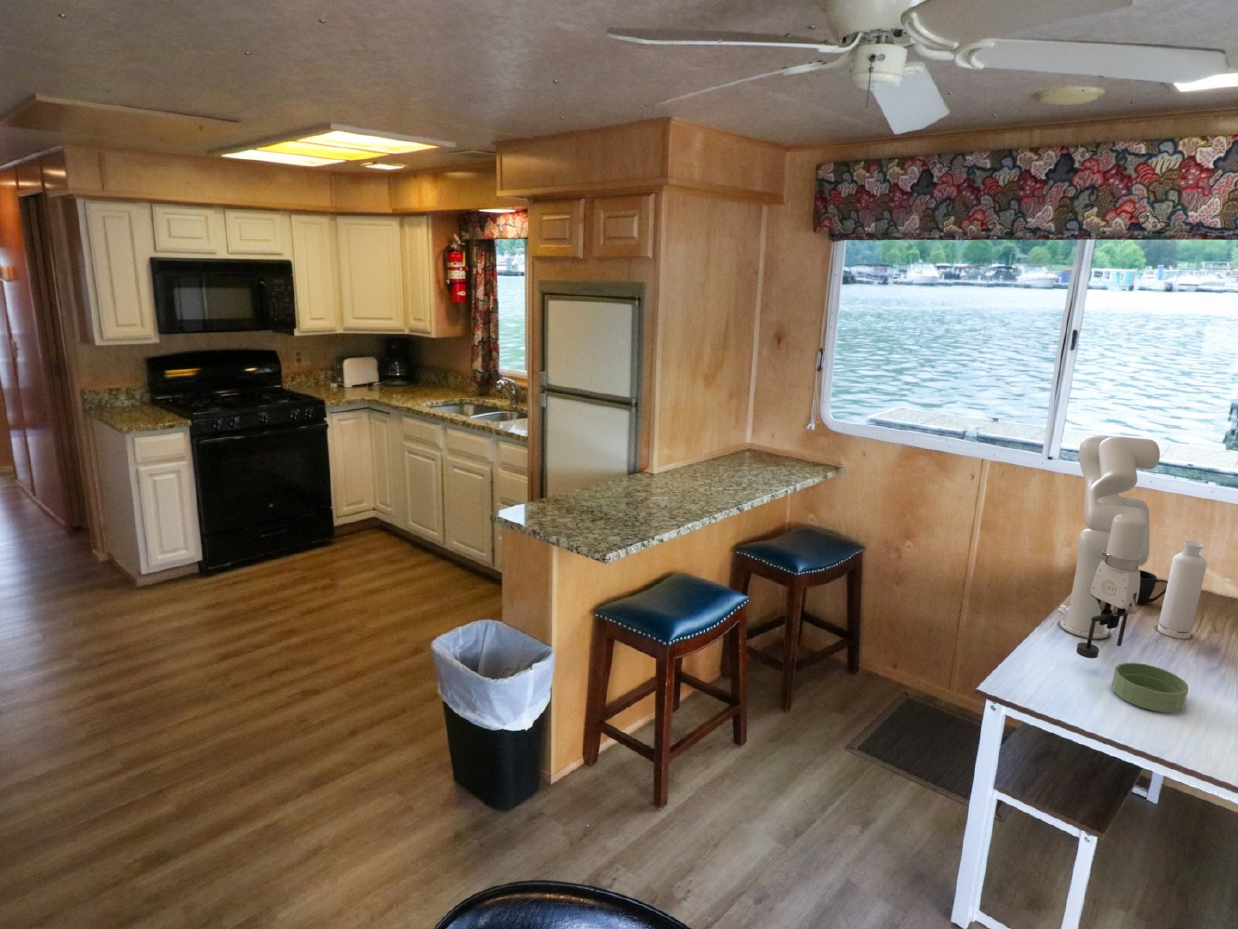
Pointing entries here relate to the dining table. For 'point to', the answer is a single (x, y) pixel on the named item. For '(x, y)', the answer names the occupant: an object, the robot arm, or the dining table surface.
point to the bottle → (1183, 591)
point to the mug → (1148, 587)
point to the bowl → (1150, 687)
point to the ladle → (1088, 648)
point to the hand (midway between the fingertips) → (1108, 625)
